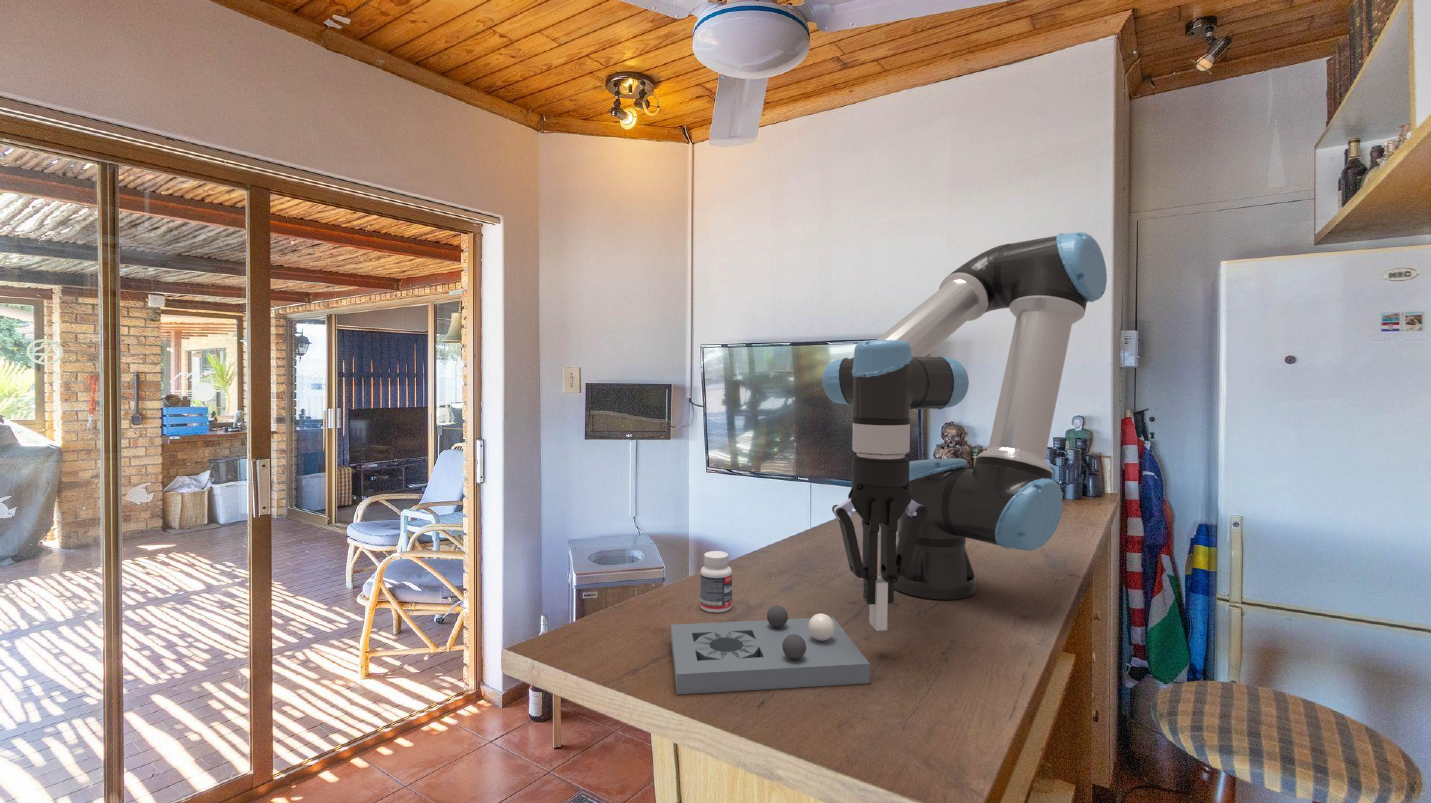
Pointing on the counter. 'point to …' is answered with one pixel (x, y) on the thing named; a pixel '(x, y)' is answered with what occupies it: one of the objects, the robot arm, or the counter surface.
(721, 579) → the pill bottle
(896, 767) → the counter surface
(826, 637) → the ball
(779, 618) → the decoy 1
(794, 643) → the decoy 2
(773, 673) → the plate
